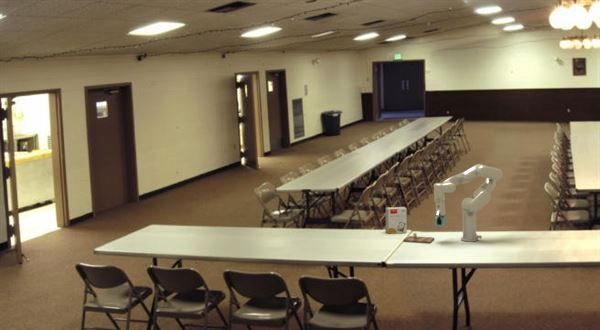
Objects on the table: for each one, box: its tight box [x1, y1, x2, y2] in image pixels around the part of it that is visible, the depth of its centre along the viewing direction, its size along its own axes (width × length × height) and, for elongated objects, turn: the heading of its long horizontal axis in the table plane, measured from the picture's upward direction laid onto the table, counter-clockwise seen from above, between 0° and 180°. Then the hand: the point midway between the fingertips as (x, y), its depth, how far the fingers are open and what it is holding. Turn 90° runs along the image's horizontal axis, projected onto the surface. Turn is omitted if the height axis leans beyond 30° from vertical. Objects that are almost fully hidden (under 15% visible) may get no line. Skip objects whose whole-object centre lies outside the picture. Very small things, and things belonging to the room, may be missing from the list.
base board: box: [403, 232, 435, 245], centre depth 537 cm, size 20×14×6 cm
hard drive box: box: [385, 206, 408, 235], centre depth 567 cm, size 16×8×20 cm, turn 97°
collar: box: [434, 215, 448, 227], centre depth 528 cm, size 7×7×6 cm
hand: (440, 223), depth 528 cm, fingers closed on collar, 7 cm apart
